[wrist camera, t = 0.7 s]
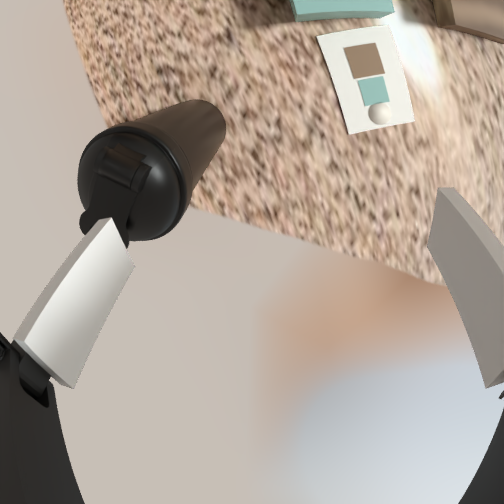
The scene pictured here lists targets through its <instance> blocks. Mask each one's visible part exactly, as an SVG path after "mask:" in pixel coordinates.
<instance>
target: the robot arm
mask: <svg viewBox="0 0 504 504" xmlns="http://www.w3.org/2000/svg"><path fill="white" fill-rule="evenodd" d="M427 248H428V249H429V251H430V253H431V255H432V257H433V259H434V261H435V263H436V264H437V266H438V268H439V270H440V272H441V274H442V276H443V278H444V280H445V282H446V285H447V287H448V289H449V291H450V293H451V295H452V297H453V299H454V302H455V304H456V306H457V309H458V311H459V313H460V316H461V318H462V321H463V323H464V326H465V328H466V331H467V333H468V336H469V339H470V341H471V344H472V347H473V349H474V352H475V355H476V358H477V361H478V364H479V368H480V371H481V374H482V377H483V381H484V384H485V387H486V388H489V387H492V386H495V385H498V384H500V383H503V382H504V246H503V245H502V244H501V242H500V241H499V240H498V238H497V237H496V236H495V234H494V233H493V232H492V231H491V229H490V228H489V227H488V226H487V224H486V223H485V222H484V221H483V220H482V218H481V217H480V216H479V215H478V214H477V212H476V211H475V210H474V209H473V208H472V207H471V206H470V205H469V203H468V202H467V201H466V200H465V199H464V198H463V197H462V196H461V195H460V194H459V193H458V192H457V190H456V189H455V188H438V190H437V197H436V203H435V209H434V215H433V220H432V225H431V230H430V235H429V240H428V244H427ZM134 267H135V265H134V263H133V261H132V259H131V257H130V255H129V253H128V251H127V249H126V247H125V245H124V243H123V241H122V239H121V237H120V235H119V232H118V230H117V228H116V226H115V224H114V222H113V219H112V217H111V218H106V219H100V220H98V221H97V223H96V224H95V225H94V226H93V227H92V228H91V229H90V231H89V232H88V233H87V234H86V235H85V237H84V238H83V239H82V241H80V243H79V244H78V245H77V246H76V248H75V249H74V250H73V251H72V253H71V254H70V255H69V256H68V258H67V259H66V260H65V262H64V263H63V264H62V266H61V267H60V268H59V269H58V271H57V272H56V274H55V275H54V277H53V278H52V279H51V280H50V282H49V283H48V285H47V286H46V287H45V289H44V290H43V292H42V293H41V295H40V296H39V297H38V299H37V301H36V302H35V303H34V305H33V306H32V308H31V310H30V311H29V313H28V314H27V316H26V317H25V319H24V321H23V322H22V324H21V325H20V327H19V329H18V330H17V332H16V334H15V336H14V337H13V339H14V340H13V342H12V343H11V344H10V343H9V342H8V340H7V339H6V338H5V337H4V336H3V335H2V334H1V333H0V504H85V503H84V501H83V498H82V496H81V493H80V490H79V487H78V485H77V482H76V479H75V476H74V473H73V470H72V467H71V463H70V460H69V456H68V453H67V449H66V445H65V442H64V438H63V434H62V429H61V424H60V419H59V414H58V410H57V404H56V398H55V391H54V387H53V384H52V383H51V382H50V381H49V379H50V377H51V376H52V377H53V378H54V379H55V380H56V381H57V382H58V383H59V384H61V385H63V386H66V387H69V388H72V389H74V387H75V385H76V383H77V380H78V378H79V376H80V374H81V371H82V369H83V367H84V365H85V362H86V360H87V358H88V356H89V353H90V352H91V349H92V347H93V345H94V343H95V341H96V339H97V337H98V335H99V333H100V331H101V329H102V327H103V325H104V323H105V321H106V318H107V317H108V315H109V313H110V311H111V309H112V307H113V305H114V303H115V302H116V300H117V298H118V296H119V294H120V292H121V290H122V289H123V287H124V285H125V283H126V281H127V280H128V278H129V276H130V274H131V273H132V271H133V269H134ZM503 397H504V391H503V392H502V393H501V395H500V397H499V398H500V399H502V398H503ZM458 504H504V409H503V412H502V416H501V418H500V421H499V423H498V426H497V428H496V431H495V434H494V436H493V438H492V441H491V443H490V445H489V447H488V450H487V452H486V454H485V456H484V458H483V461H482V462H481V464H480V466H479V468H478V470H477V472H476V474H475V476H474V478H473V480H472V482H471V483H470V485H469V487H468V489H467V490H466V492H465V494H464V496H463V497H462V499H461V500H460V502H459V503H458Z"/></svg>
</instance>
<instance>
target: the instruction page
mask: <svg viewBox="0 0 504 504" xmlns="http://www.w3.org/2000/svg"><path fill="white" fill-rule="evenodd" d="M316 37H317V39H318V42H319V45H320V47H321V50H322V52H323V55H324V58H325V60H326V63H327V66H328V69H329V72H330V74H331V77H332V80H333V83H334V86H335V89H336V92H337V96H338V99H339V102H340V105H341V109H342V112H343V115H344V119H345V122H346V126H347V130H348V133H349V135H350V134H354V133H359V132H363V131H368V130H372V129H377V128H382V127H387V126H392V125H397V124H403V123H408V122H414V121H415V119H414V114H413V109H412V104H411V99H410V95H409V91H408V87H407V82H406V79H405V75H404V71H403V67H402V64H401V60H400V57H399V54H398V50H397V47H396V44H395V41H394V38H393V35H392V32H391V30H390V27H389V25H381V26H373V27H365V28H358V29H352V30H346V31H340V32H335V33H330V34H325V35H320V36H316Z"/></svg>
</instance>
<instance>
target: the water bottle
mask: <svg viewBox="0 0 504 504" xmlns="http://www.w3.org/2000/svg"><path fill="white" fill-rule="evenodd" d="M225 135H226V123H225V120H224V117H223V115H222V113H221V112H220V111H219V109H218V108H217V107H215V106H214V105H213V104H211V103H209V102H207V101H204V100H189V101H185V102H182V103H180V104H177V105H174V106H171V107H168V108H166V109H163V110H160V111H158V112H155V113H153V114H150V115H147V116H145V117H143V118H140V119H138V120H135V121H130V122H124V123H120V124H117V125H115V126H112V127H110V128H108V129H106V130H104V131H103V132H101V133H99V134H98V135H97V136H95V137H94V138H93V139H92V140H91V141H90V142H89V144H88V145H87V146H86V148H85V150H84V151H83V153H82V156H81V159H80V163H79V169H78V191H79V195H80V199H81V202H82V204H83V207H84V209H85V210H86V211H85V212H83V213H82V215H81V217H80V222H79V225H80V229H81V231H82V233H83V234H84V235H86V234H87V233H88V232H89V231H90V229H91V228H92V227H93V226H94V225H95V224H96V223H97V221H98V220H100V219H106V218H111V217H112V219H113V222H114V224H115V226H116V228H117V230H118V232H119V235H120V237H121V239H122V241H123V243H124V245H125V247H126V249H127V248H128V245H129V241H147V240H153V239H157V238H160V237H162V236H164V235H166V234H167V233H169V232H170V231H171V230H172V229H173V228H174V227H175V226H176V225H177V224H178V223H179V221H180V219H181V218H182V216H183V215H184V213H185V211H186V210H187V208H188V206H189V203H190V200H191V196H192V191H193V190H194V188H195V186H196V185H197V183H198V181H199V180H200V178H201V176H202V175H203V173H204V171H205V170H206V168H207V166H208V165H209V163H210V162H211V160H212V158H213V157H214V155H215V154H216V152H217V150H218V149H219V147H220V146H221V144H222V143H223V141H224V138H225Z"/></svg>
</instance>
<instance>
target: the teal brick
mask: <svg viewBox="0 0 504 504" xmlns="http://www.w3.org/2000/svg"><path fill="white" fill-rule="evenodd" d="M290 3H291V7H292V11H293V14H294V18H295V22H301V21H310V20H322V19H338V18H382V17H384V16H386V15H389V14H391V13H394V12H395V11H394V7H393V4H392V0H290Z"/></svg>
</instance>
